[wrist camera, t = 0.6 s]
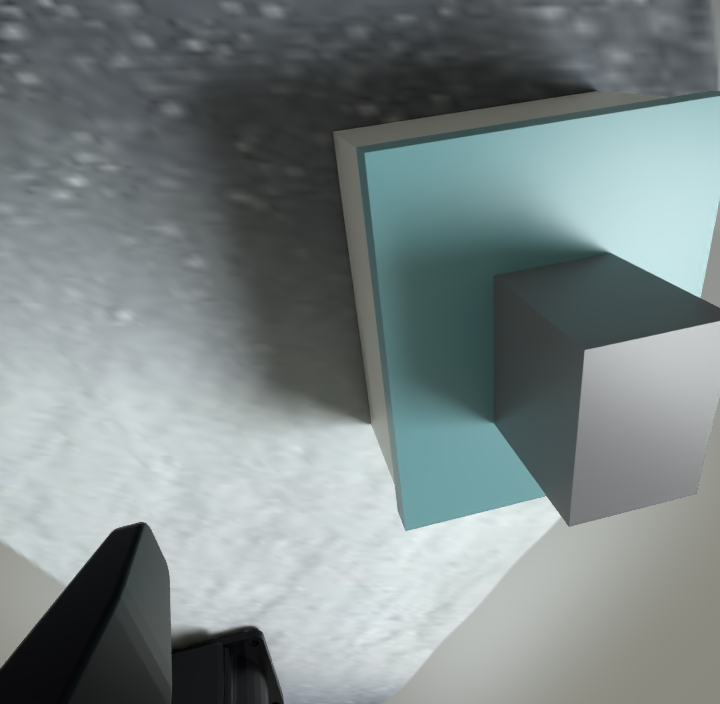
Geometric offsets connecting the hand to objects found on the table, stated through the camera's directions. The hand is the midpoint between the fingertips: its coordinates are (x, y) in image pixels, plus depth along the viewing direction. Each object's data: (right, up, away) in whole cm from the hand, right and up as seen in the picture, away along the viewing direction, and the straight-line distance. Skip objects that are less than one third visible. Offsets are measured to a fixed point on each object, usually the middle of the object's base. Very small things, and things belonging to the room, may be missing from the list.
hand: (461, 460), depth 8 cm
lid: (+4, +3, +10) cm, 11 cm away
